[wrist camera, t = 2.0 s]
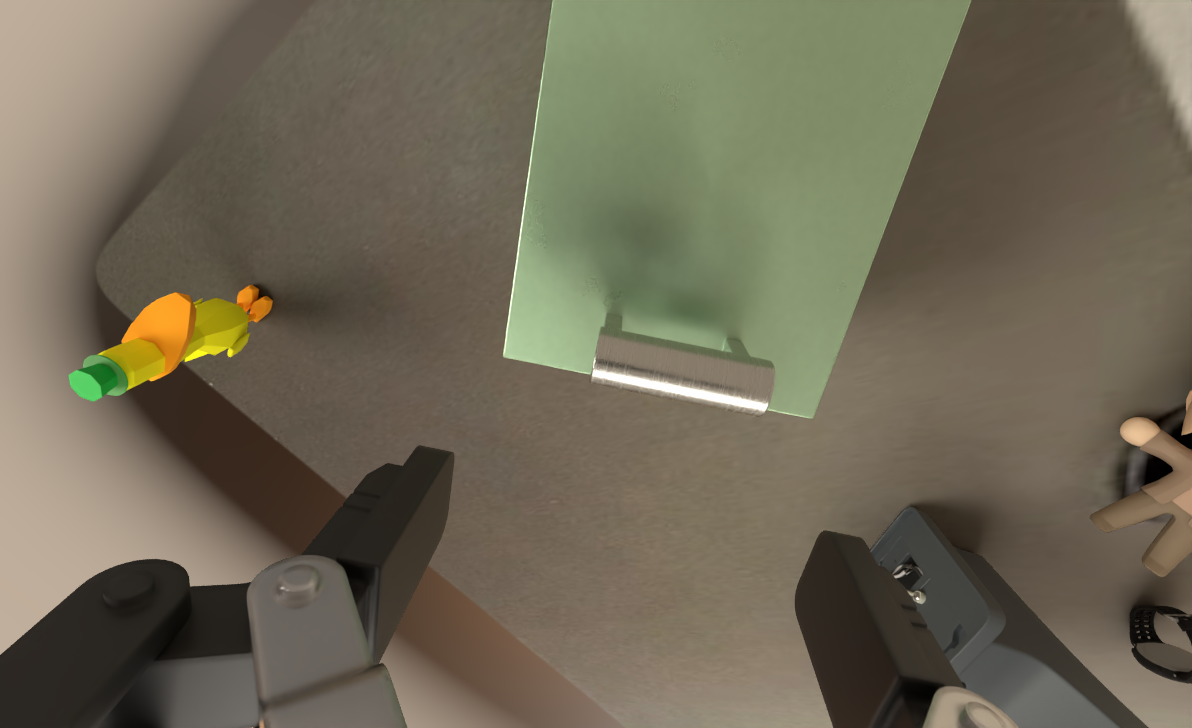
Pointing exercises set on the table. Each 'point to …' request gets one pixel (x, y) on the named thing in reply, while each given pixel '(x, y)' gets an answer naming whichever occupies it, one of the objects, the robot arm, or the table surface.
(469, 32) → the table surface
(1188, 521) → the action figure
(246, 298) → the toy figure
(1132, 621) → the smartwatch
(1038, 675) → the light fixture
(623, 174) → the bin lid
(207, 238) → the table surface
